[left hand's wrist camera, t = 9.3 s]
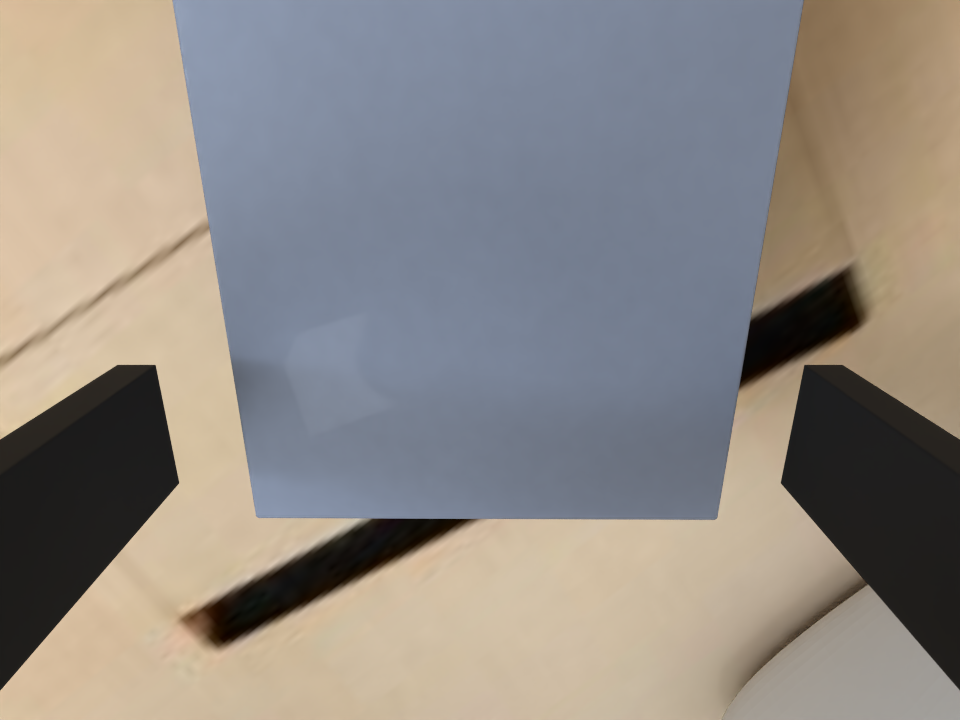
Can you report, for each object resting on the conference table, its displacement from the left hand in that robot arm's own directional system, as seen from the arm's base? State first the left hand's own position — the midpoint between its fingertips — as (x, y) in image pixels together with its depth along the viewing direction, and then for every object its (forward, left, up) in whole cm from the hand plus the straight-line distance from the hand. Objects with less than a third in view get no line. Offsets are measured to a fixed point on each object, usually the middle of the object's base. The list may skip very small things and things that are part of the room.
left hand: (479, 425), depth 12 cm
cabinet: (+7, +1, -11) cm, 13 cm away
